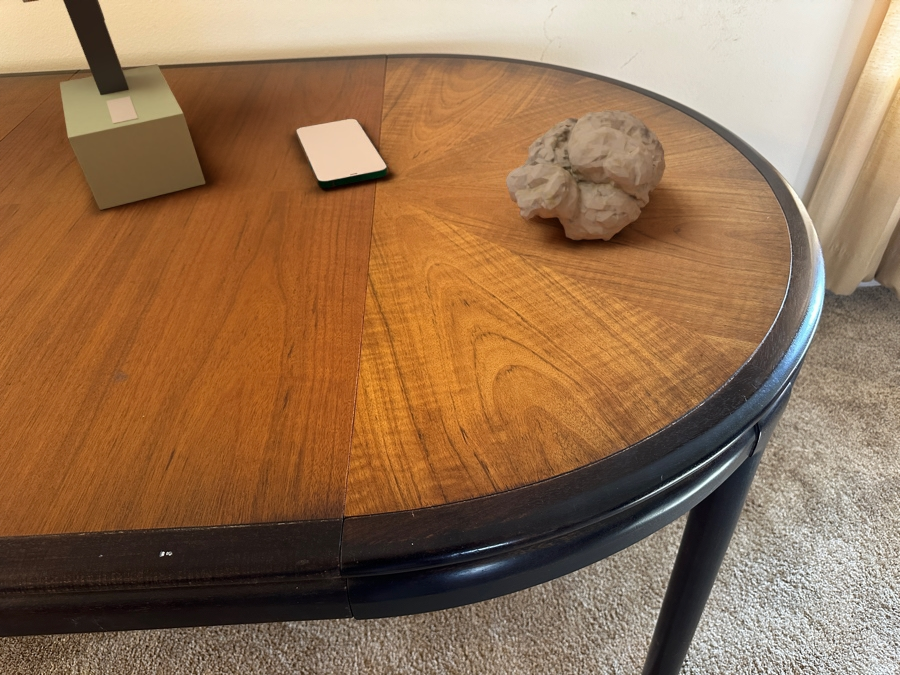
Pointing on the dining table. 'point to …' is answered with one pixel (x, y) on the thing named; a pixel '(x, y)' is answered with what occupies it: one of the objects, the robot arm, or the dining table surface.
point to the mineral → (590, 174)
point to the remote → (97, 45)
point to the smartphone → (340, 153)
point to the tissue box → (130, 138)
